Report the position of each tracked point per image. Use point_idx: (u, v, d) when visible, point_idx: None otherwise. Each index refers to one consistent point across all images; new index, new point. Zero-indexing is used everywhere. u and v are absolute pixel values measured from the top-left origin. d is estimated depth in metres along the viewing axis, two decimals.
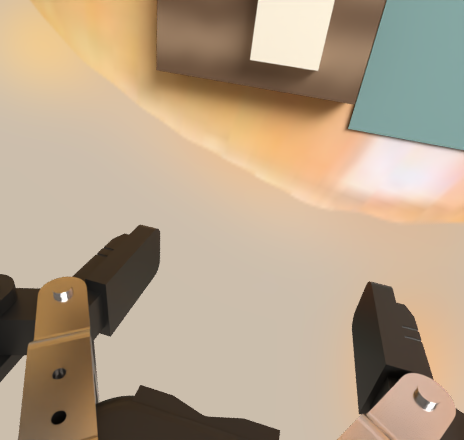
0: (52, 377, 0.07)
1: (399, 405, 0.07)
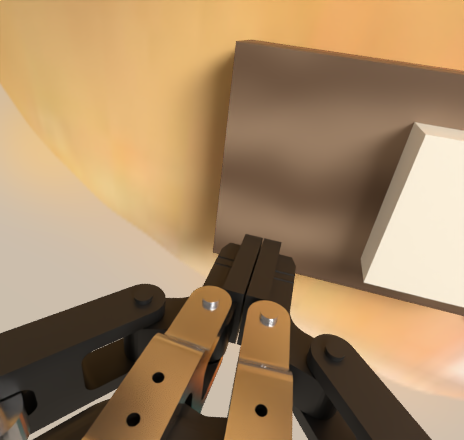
0: (152, 377, 0.07)
1: (256, 335, 0.09)
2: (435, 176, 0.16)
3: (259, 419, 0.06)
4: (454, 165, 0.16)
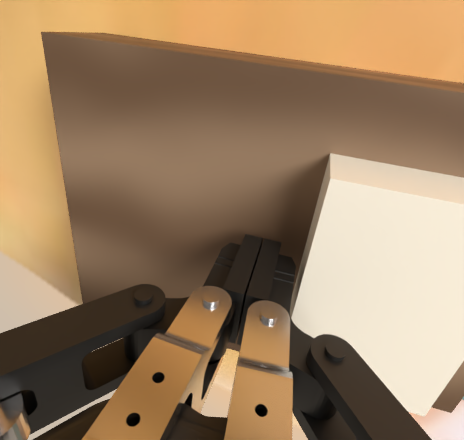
0: (152, 377, 0.07)
1: (255, 335, 0.09)
2: (353, 240, 0.11)
3: (260, 419, 0.06)
4: (378, 224, 0.10)
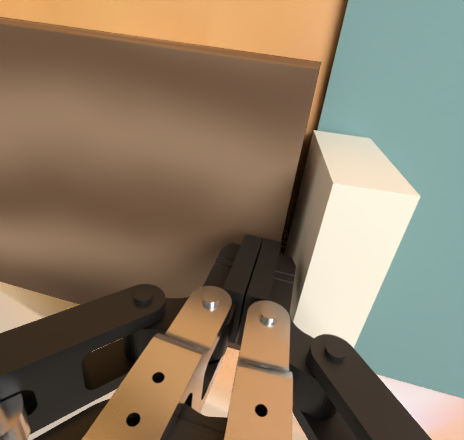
0: (152, 377, 0.07)
1: (256, 335, 0.09)
2: None
3: (260, 419, 0.06)
4: None
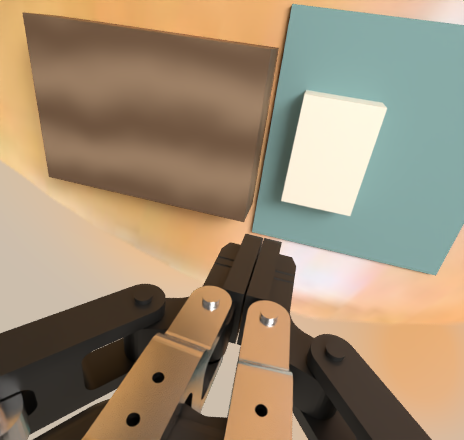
0: (152, 377, 0.07)
1: (256, 335, 0.09)
2: None
3: (259, 418, 0.06)
4: None
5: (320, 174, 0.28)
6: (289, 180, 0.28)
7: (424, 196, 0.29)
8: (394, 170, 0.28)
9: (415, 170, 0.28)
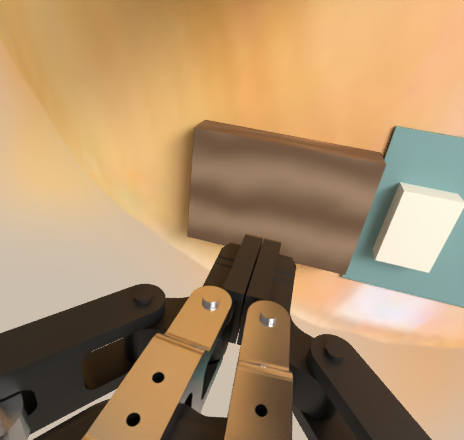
0: (152, 377, 0.07)
1: (256, 335, 0.09)
2: None
3: (259, 419, 0.06)
4: None
5: (409, 243, 0.37)
6: (384, 246, 0.38)
7: None
8: (462, 238, 0.38)
9: None
